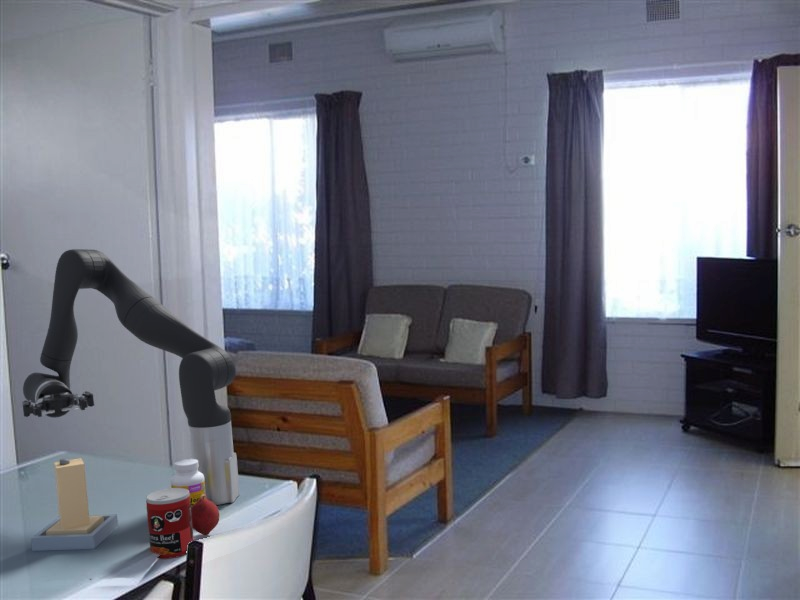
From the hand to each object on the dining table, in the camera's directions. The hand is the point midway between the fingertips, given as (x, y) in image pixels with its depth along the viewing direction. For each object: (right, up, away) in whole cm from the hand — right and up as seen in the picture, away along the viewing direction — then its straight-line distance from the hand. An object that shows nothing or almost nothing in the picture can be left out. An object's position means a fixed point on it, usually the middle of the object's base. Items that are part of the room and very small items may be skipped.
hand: (61, 408), depth 187 cm
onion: (+33, -23, -12) cm, 42 cm away
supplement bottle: (+28, -23, -5) cm, 37 cm away
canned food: (+28, -25, -20) cm, 42 cm away
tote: (+8, -25, -12) cm, 29 cm away
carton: (+7, -21, -13) cm, 25 cm away
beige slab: (+8, -24, -12) cm, 28 cm away
